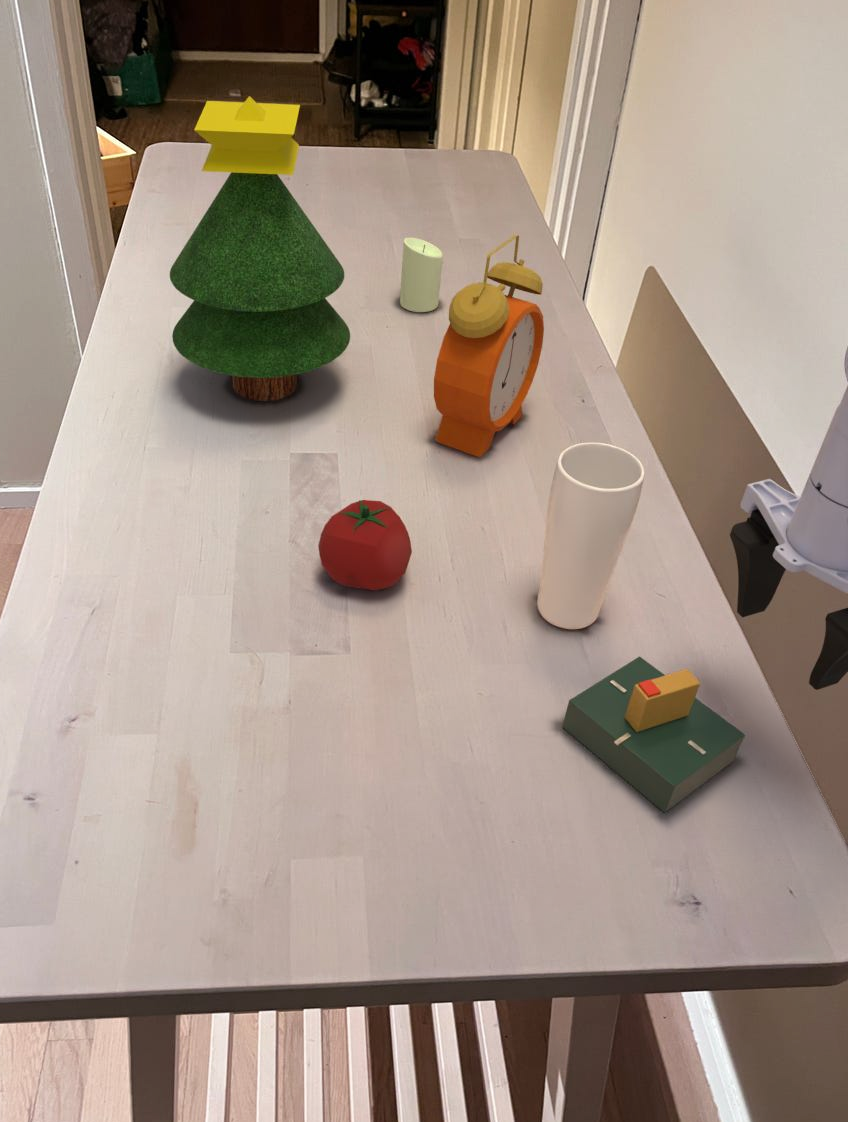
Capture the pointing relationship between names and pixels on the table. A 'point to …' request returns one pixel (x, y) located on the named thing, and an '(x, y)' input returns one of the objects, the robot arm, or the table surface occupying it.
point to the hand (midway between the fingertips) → (785, 645)
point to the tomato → (365, 546)
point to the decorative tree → (256, 261)
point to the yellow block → (661, 700)
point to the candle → (420, 275)
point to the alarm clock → (488, 356)
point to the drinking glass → (586, 530)
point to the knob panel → (651, 738)
